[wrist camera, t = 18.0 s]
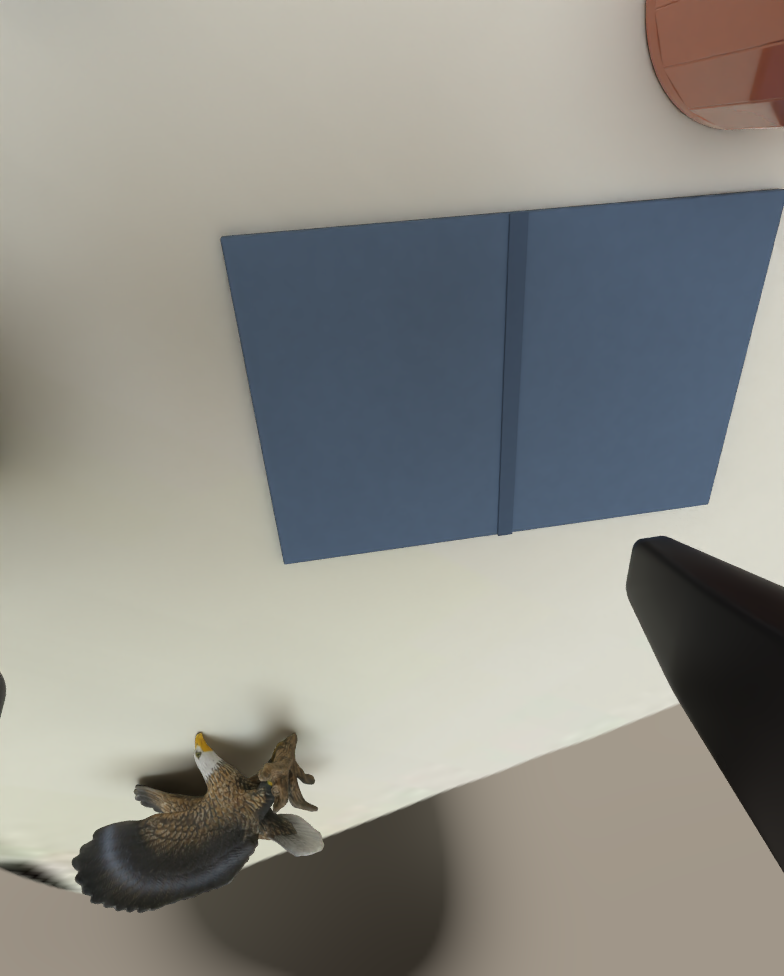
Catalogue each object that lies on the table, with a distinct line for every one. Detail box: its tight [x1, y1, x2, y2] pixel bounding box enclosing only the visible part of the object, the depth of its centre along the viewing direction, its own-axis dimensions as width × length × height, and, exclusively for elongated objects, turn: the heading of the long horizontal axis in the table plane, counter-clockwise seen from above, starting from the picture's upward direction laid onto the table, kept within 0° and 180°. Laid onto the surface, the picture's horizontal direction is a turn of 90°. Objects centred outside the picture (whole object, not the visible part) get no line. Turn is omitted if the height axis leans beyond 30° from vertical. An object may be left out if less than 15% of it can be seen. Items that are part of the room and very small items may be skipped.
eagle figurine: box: [72, 733, 324, 913], centre depth 26 cm, size 8×7×9 cm
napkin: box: [221, 189, 784, 564], centre depth 21 cm, size 18×12×1 cm, turn 94°
